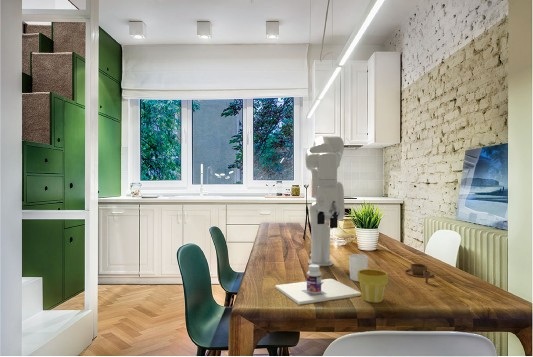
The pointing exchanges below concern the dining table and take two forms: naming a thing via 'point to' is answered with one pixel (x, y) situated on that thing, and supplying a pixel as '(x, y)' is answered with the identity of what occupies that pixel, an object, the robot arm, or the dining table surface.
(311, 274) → the pill bottle
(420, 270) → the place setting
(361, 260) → the white cup
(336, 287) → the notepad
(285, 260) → the dining table surface
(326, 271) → the dining table surface
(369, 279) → the plant pot
